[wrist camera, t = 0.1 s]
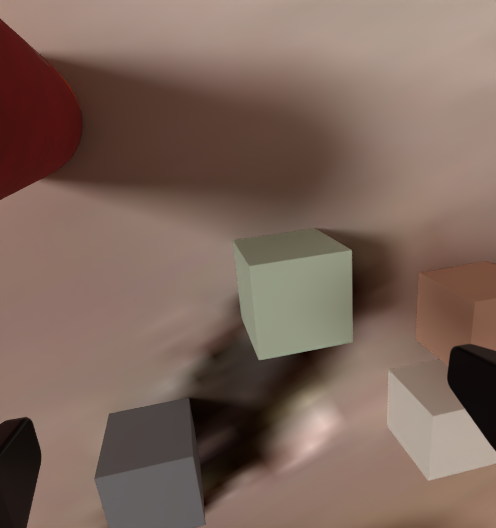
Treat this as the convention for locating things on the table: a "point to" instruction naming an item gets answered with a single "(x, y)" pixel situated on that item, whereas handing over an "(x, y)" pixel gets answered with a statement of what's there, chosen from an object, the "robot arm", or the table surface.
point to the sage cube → (294, 291)
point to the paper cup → (33, 115)
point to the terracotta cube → (457, 308)
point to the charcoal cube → (151, 468)
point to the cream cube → (434, 422)
